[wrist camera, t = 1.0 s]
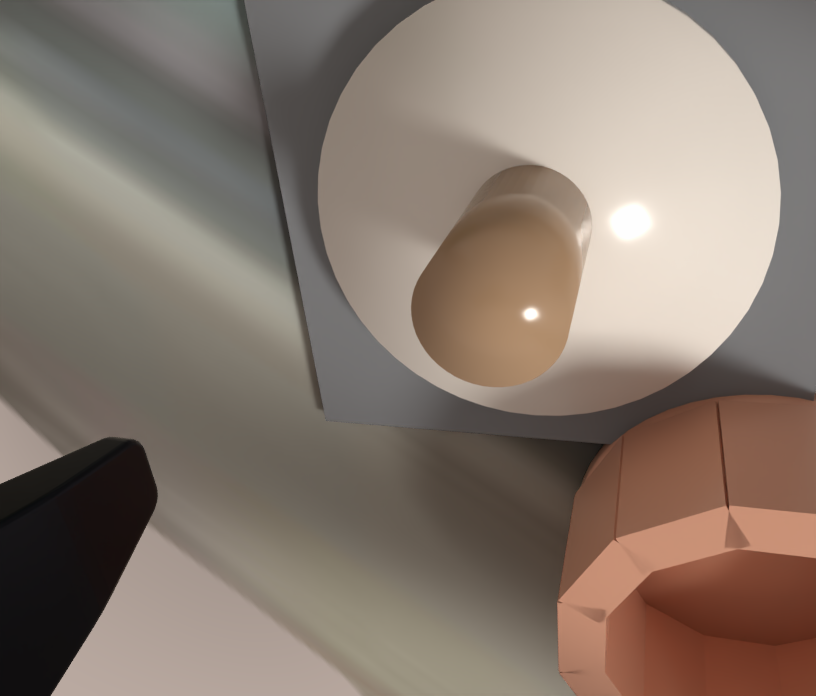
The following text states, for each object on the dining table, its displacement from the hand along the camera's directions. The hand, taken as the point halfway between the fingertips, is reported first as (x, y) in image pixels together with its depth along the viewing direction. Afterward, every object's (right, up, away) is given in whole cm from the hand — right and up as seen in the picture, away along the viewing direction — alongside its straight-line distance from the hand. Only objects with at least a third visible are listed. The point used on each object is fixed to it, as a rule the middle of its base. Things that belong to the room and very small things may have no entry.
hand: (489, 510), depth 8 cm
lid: (+2, +5, +11) cm, 12 cm away
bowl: (+9, -4, +14) cm, 17 cm away
